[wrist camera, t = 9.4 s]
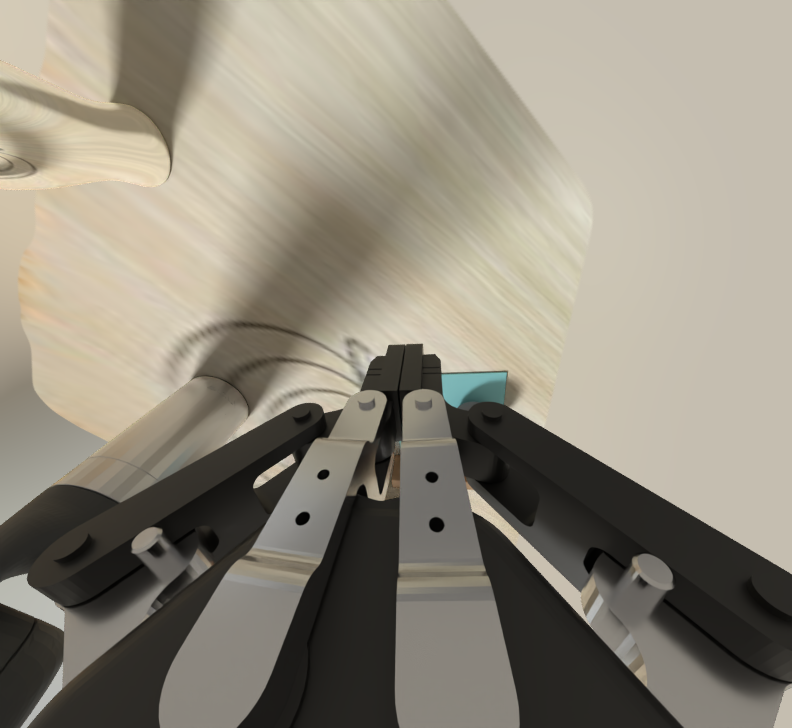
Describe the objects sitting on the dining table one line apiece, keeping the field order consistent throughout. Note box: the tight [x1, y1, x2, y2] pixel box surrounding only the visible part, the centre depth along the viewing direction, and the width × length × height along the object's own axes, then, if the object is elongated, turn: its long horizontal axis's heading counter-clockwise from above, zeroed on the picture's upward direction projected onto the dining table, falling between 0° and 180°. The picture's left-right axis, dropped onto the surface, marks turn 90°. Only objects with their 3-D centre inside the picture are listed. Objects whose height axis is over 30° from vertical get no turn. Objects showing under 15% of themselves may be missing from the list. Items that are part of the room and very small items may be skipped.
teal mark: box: [399, 372, 507, 448], centre depth 38 cm, size 14×14×1 cm
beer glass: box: [0, 60, 171, 190], centre depth 19 cm, size 7×7×15 cm
